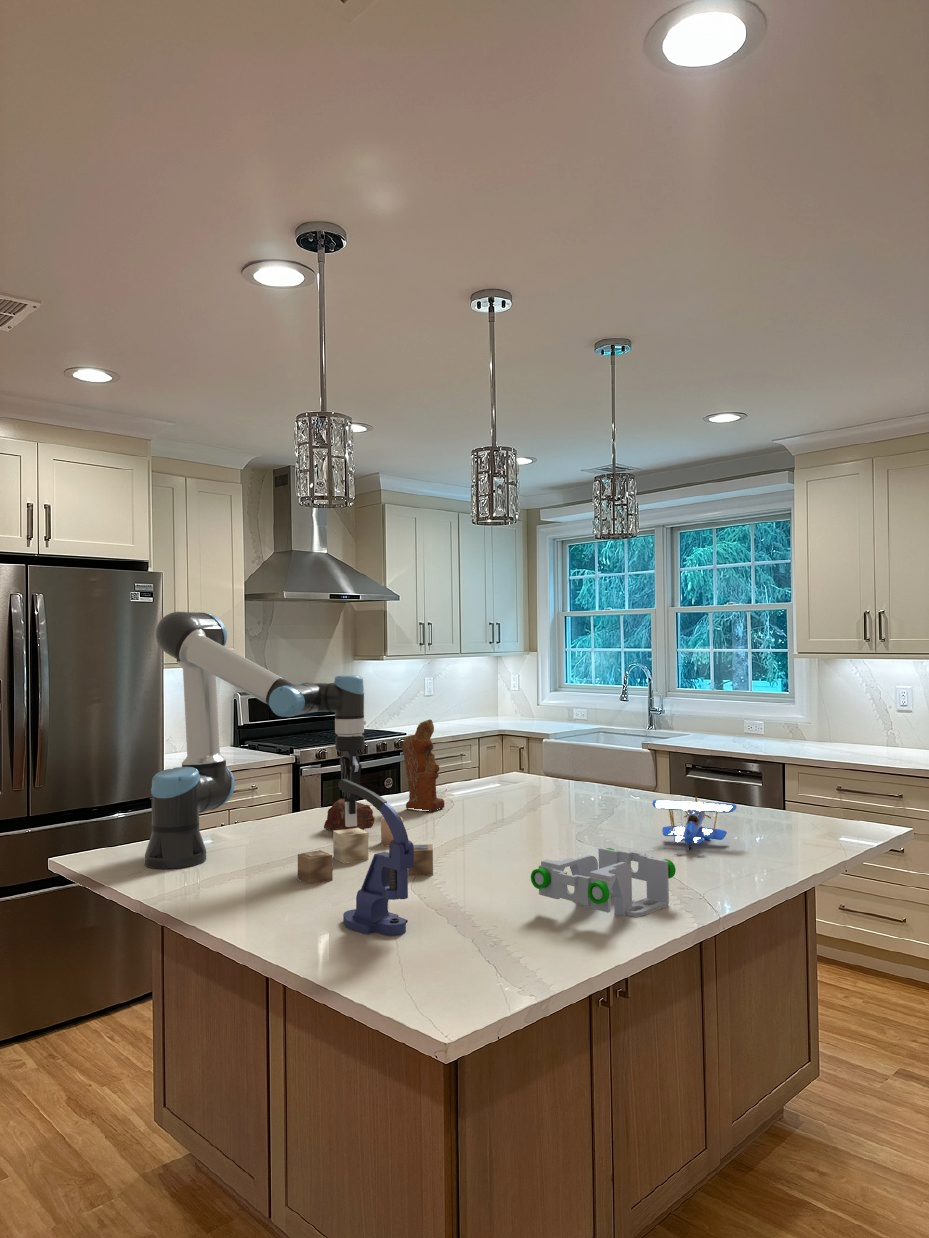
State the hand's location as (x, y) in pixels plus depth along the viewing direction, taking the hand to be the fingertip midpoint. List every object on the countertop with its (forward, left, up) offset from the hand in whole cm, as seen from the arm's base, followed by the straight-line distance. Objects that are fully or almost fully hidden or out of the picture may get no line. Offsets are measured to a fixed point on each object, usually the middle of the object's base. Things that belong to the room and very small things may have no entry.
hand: (351, 825), depth 224 cm
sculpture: (+40, +54, -9) cm, 68 cm away
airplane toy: (+89, -25, -9) cm, 93 cm away
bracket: (+37, -63, -9) cm, 73 cm away
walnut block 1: (-13, -16, -9) cm, 22 cm away
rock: (+7, +32, -9) cm, 34 cm away
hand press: (-10, -54, -9) cm, 56 cm away
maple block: (0, 0, -9) cm, 9 cm away
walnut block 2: (+12, -20, -9) cm, 25 cm away
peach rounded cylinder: (+15, +12, -9) cm, 21 cm away
